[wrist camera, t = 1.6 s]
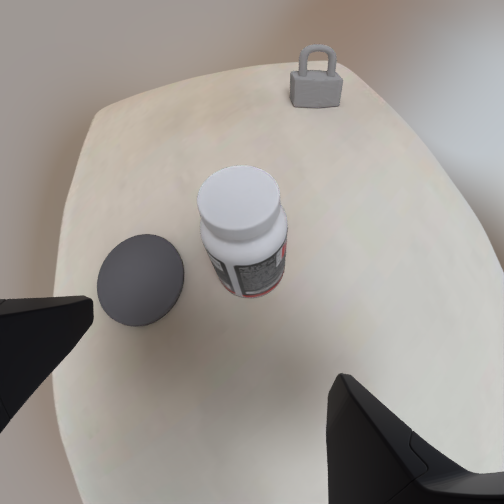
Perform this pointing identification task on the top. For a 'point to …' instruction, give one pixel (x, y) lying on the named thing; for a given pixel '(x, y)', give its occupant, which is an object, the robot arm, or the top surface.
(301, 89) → the padlock
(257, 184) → the pill bottle
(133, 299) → the coaster
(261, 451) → the top surface
